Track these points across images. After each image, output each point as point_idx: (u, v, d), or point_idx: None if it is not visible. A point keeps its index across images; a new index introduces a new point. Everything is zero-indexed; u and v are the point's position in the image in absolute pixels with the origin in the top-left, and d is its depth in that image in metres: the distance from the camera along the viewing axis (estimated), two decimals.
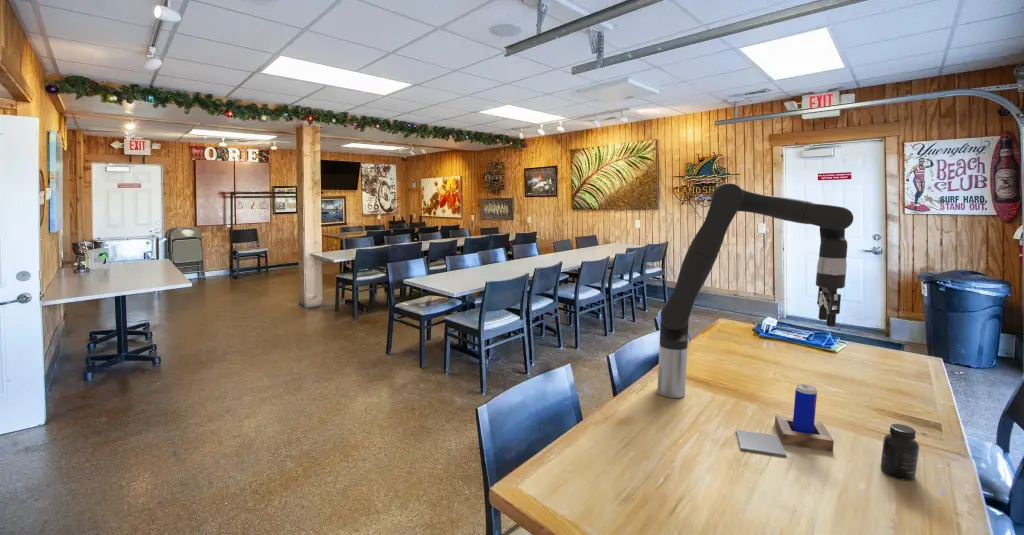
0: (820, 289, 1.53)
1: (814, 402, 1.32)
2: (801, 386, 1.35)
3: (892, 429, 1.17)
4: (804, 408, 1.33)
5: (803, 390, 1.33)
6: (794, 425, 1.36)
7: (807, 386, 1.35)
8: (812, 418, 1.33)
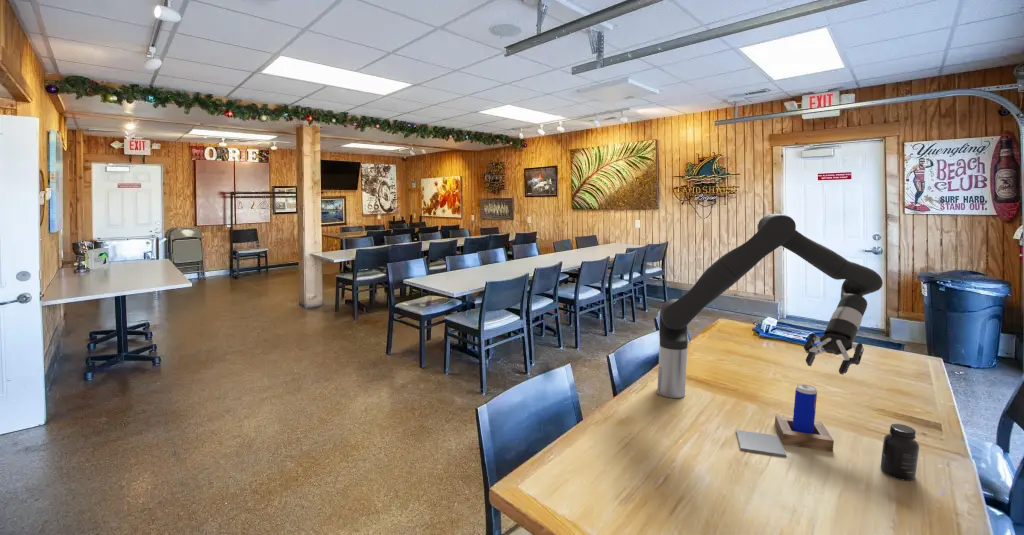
0: (814, 336, 1.47)
1: (814, 402, 1.32)
2: (801, 386, 1.35)
3: (892, 429, 1.17)
4: (804, 408, 1.33)
5: (803, 390, 1.33)
6: (794, 425, 1.36)
7: (807, 386, 1.35)
8: (812, 418, 1.33)
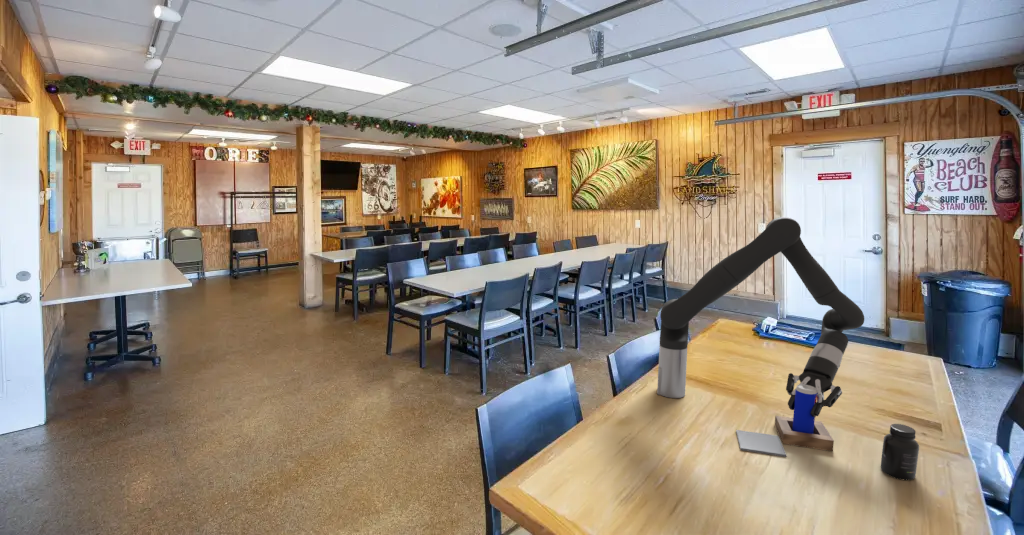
0: (792, 376, 1.41)
1: (814, 402, 1.32)
2: (801, 386, 1.35)
3: (892, 429, 1.17)
4: (804, 408, 1.33)
5: (803, 390, 1.33)
6: (794, 425, 1.36)
7: (807, 386, 1.35)
8: (812, 418, 1.33)
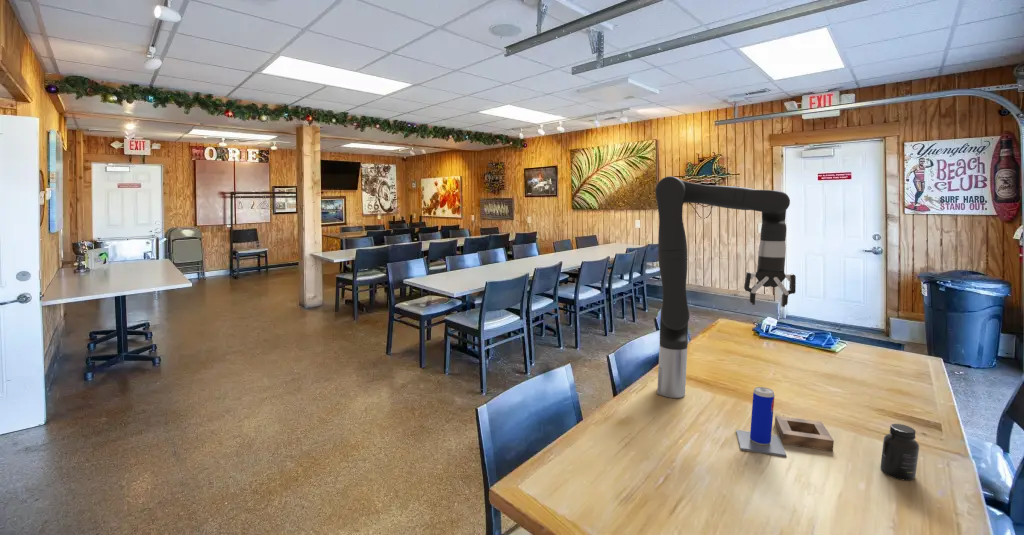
0: (750, 275, 1.51)
1: (771, 405, 1.29)
2: (759, 389, 1.32)
3: (892, 429, 1.17)
4: (761, 411, 1.29)
5: (760, 393, 1.29)
6: (752, 429, 1.32)
7: (765, 389, 1.32)
8: (769, 422, 1.29)
